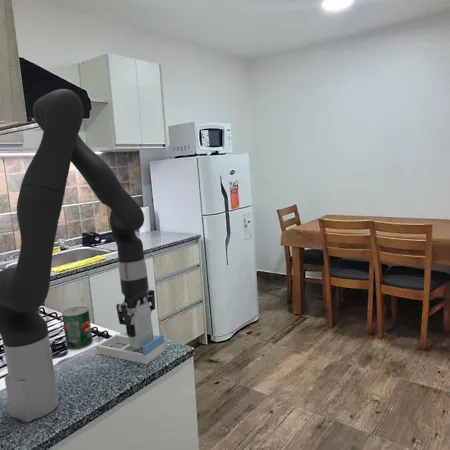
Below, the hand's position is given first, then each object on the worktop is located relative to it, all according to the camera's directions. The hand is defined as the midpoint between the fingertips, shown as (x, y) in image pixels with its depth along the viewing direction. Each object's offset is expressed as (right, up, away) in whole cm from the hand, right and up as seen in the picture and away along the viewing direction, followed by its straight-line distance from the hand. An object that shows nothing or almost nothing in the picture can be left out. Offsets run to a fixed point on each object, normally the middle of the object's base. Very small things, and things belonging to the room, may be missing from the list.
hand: (140, 331), depth 114 cm
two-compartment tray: (-3, -7, +3) cm, 8 cm away
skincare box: (0, -4, +1) cm, 4 cm away
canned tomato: (-21, -7, +12) cm, 25 cm away
